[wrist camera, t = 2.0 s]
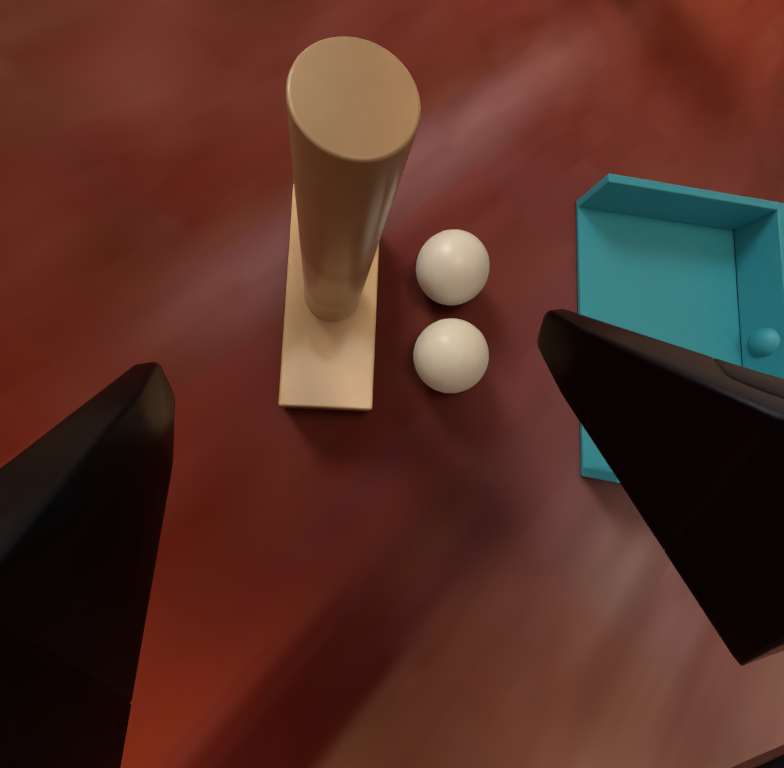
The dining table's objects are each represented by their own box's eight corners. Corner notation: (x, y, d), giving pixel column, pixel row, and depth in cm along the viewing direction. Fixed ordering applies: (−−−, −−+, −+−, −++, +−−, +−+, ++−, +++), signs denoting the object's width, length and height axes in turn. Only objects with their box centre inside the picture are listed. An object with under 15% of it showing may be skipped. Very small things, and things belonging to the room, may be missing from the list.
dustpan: (580, 476, 22) (617, 483, 19) (576, 201, 24) (608, 172, 21) (843, 480, 25) (905, 486, 22) (821, 238, 27) (876, 218, 24)
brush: (373, 223, 21) (467, -114, 8) (365, 411, 20) (459, 385, 7) (296, 213, 20) (257, -176, 7) (283, 408, 19) (210, 370, 6)
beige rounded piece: (483, 377, 21) (516, 367, 18) (426, 407, 20) (448, 404, 17) (452, 317, 21) (478, 296, 18) (393, 346, 21) (409, 329, 17)
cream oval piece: (483, 297, 22) (516, 272, 18) (428, 324, 21) (450, 304, 17) (453, 239, 22) (479, 203, 18) (396, 264, 21) (412, 232, 17)
